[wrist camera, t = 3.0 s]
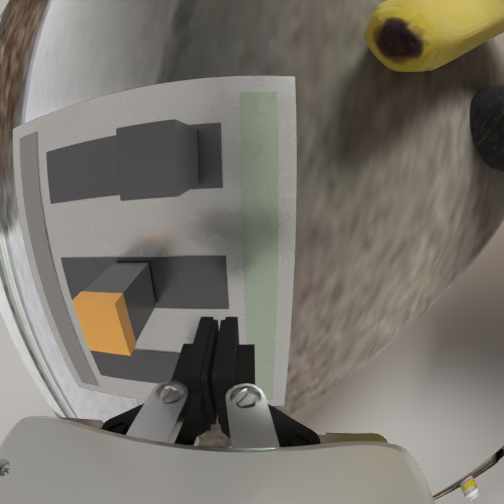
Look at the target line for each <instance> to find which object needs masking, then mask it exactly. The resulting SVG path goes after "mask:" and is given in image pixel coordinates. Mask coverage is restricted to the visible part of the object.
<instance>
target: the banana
mask: <svg viewBox="0 0 504 504" xmlns="http://www.w3.org/2000/svg"><path fill="white" fill-rule="evenodd" d="M503 32H504V0H387V1H385V2H383V3H382V4H380V5H379V6H378V7H377V8H376V10H375V12H374V13H373V15H372V17H371V19H370V21H369V24H368V26H367V29H366V32H365V39H366V42H367V45H368V46H369V48H370V50H371V51H372V52H373V54H374V55H375V56H376V57H377V58H378V60H379V61H381V62H382V63H383V64H384V65H385V66H386V67H388V68H389V69H391V70H394V71H399V72H420V71H430V70H434V69H437V68H439V67H441V66H443V65H445V64H447V63H449V62H450V61H452V60H454V59H456V58H458V57H460V56H461V55H463V54H465V53H467V52H469V51H470V50H472V49H474V48H476V47H477V46H479V45H481V44H482V43H484V42H486V41H488V40H490V39H491V38H493V37H495V36H497V35H499V34H501V33H503Z"/></svg>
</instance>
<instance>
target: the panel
mask: <svg viewBox="0 0 504 504" xmlns="http://www.w3.org/2000/svg"><path fill="white" fill-rule="evenodd" d="M172 119H176V120H178V121H180V122H183V123H185V124H187V125H189V126H192V127H194V128H196V129H197V139H198V169H199V184H198V185H196V186H195V187H193V188H192V189H190V190H188V191H187V192H185V193H183V194H182V195H180V196H179V197H165V198H151V199H139V200H127V201H121V200H120V190H119V178H118V164H117V142H116V128H120V127H126V126H131V125H137V124H143V123H150V122H157V121H164V120H172ZM13 161H14V176H15V187H16V196H17V204H18V211H19V217H20V223H21V229H22V234H23V239H24V243H25V248H26V252H27V256H28V260H29V264H30V268H31V272H32V275H33V279H34V282H35V285H36V288H37V292H38V295H39V298H40V301H41V304H42V306H43V309H44V312H45V315H46V317H47V320H48V323H49V325H50V328H51V330H52V333H53V335H54V337H55V340H56V342H57V344H58V346H59V349H60V351H61V353H62V355H63V357H64V359H65V361H66V364H67V366H68V368H69V370H70V371H71V373H72V375H73V377H74V379H75V381H76V383H77V385H78V387H81V388H85V389H89V390H94V391H98V392H103V393H108V394H113V395H118V396H124V397H129V398H136V399H142V400H147V398H148V396H149V394H150V393H151V391H152V389H153V388H154V387H155V386H156V385H157V384H159V383H161V382H164V381H170V380H172V376H173V373H174V370H175V367H176V364H177V361H178V358H179V355H180V352H181V349H182V346H183V344H184V343H187V344H193V342H194V338H195V335H196V331H197V328H198V325H199V321H200V318H201V317H213V318H214V320H218V326H219V328H220V323H221V320H225V318H226V317H238V329H239V344H255V385H256V386H258V387H260V388H261V389H262V390H263V391H264V393H265V395H266V399H267V403H268V404H270V405H271V406H283V405H284V402H285V392H286V382H287V371H288V359H289V347H290V333H291V319H292V303H293V285H294V264H295V237H296V191H297V135H296V91H295V77H292V76H229V77H213V78H201V79H191V80H183V81H175V82H168V83H162V84H156V85H150V86H145V87H140V88H135V89H130V90H125V91H121V92H117V93H113V94H109V95H105V96H101V97H98V98H94V99H91V100H87V101H84V102H81V103H77V104H74V105H71V106H68V107H65V108H63V109H60V110H57V111H54V112H52V113H49V114H46V115H44V116H41V117H39V118H36V119H34V120H32V121H29V122H27V123H25V124H23V125H20V126H18V127H16V128H14V129H13ZM113 263H148V264H149V270H150V276H151V282H152V287H153V292H154V298H155V303H156V307H155V309H154V310H153V312H152V314H151V316H150V318H149V319H148V321H147V323H146V325H145V327H144V329H143V330H142V332H141V334H140V336H139V338H138V340H137V342H136V343H137V344H136V346H135V348H134V350H133V352H132V354H131V356H128V355H120V354H112V353H105V352H98V351H92V350H90V349H89V347H88V344H87V342H86V339H85V336H84V334H83V331H82V328H81V326H80V323H79V320H78V317H77V314H76V311H75V308H74V305H73V302H72V300H73V299H74V298H75V297H76V296H77V295H78V294H79V293H80V292H81V291H84V290H85V289H86V288H87V287H88V286H89V285H90V284H91V283H93V282H94V281H95V280H96V279H97V278H98V277H99V276H100V275H101V274H102V273H103V272H104V271H105V270H106V269H107V268H109V267H110V266H111V265H112V264H113Z"/></svg>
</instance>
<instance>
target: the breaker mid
mask: <svg viewBox="0 0 504 504" xmlns="http://www.w3.org/2000/svg"><path fill="white" fill-rule="evenodd" d="M72 302H73V305H74V308H75V311H76V314H77V317H78V320H79V323H80V326H81V328H82V331H83V334H84V336H85V339H86V342H87V344H88V347H89V349H90V350H92V351H98V352H105V353H112V354H120V355H128V356H131V354H132V352H133V350H134V348H135V346H136V344H137V343H136V342H137V340H138V338H139V336H140V334H141V332H142V330H143V329H144V327H145V325H146V323H147V321H148V319H149V318H150V316H151V314H152V312H153V310H154V309H155V307H156V303H155V298H154V292H153V287H152V282H151V276H150V270H149V264H148V263H113V264H112V265H111V266H110V267H109V268H107V269H106V270H105V271H104V272H103V273H102V274H101V275H100V276H99V277H98V278H97V279H96V280H95V281H94V282H93V283H91V284H90V285H89V286H88V287H87V288H86V289H85V290H84V291H81V292H80V293H79V294H78V295H77V296H76V297H75V298H74V299H73V300H72Z"/></svg>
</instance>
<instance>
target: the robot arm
mask: <svg viewBox="0 0 504 504" xmlns="http://www.w3.org/2000/svg"><path fill="white" fill-rule="evenodd" d="M217 415H218V421H219V425H221V428H222V432H223V433H224V434H225V435H226V436H228V437H229V438H230V439H231V445H232V448H221V447H204V446H198V445H199V442H200V435H201V434H203V433H204V432H206V431H211V424H216V419H217ZM0 504H435V502H434V499H433V496H432V494H431V491H430V488H429V486H428V483H427V481H426V479H425V477H424V475H423V473H422V470H421V468H420V467H419V465H418V463H417V462H416V460H415V459H414V457H413V456H412V455H411V454H410V453H409V452H408V451H407V450H406V449H404V448H403V447H401V446H398V445H395V444H390V443H387V440H386V439H385V438H384V437H383V436H381V435H379V434H373V433H366V434H365V433H364V434H363V433H362V434H351V433H350V434H349V433H326V434H325V435H317V434H316V433H315V432H314V431H312V430H311V429H309V428H307V427H305V426H304V425H302V424H300V423H299V422H297V421H295V420H294V419H292V418H290V417H289V416H287V415H285V414H284V413H282V412H281V411H279V410H277V409H276V408H274V407H273V406H271V405H270V404H268V403H267V399H266V395H265V393H264V391H263V390H262V389H261V388H260V387H258V386H256V385H255V344H239V329H238V317H226V318H225V320H221V323H220V328H219V326H218V320H214V318H213V317H201V318H200V321H199V325H198V328H197V331H196V335H195V338H194V342H193V344H187V343H184V344H183V346H182V349H181V352H180V355H179V358H178V361H177V364H176V367H175V370H174V373H173V376H172V380H170V381H164V382H161V383H159V384H157V385H156V386H155V387H154V388H153V389H152V391H151V393H150V394H149V396H148V398H147V400H146V401H145V403H144V404H142V405H140V406H137V407H135V408H133V409H131V410H129V411H127V412H125V413H122V414H120V415H118V416H116V417H113V418H111V419H109V420H108V421H106V422H105V423H103V422H102V421H101V420H89V419H76V418H55V417H47V416H31V417H26V418H23V419H21V420H20V421H19V422H18V423H17V424H16V425H15V426H14V427H13V428H12V429H11V431H10V432H9V433H8V435H7V436H6V438H5V439H4V441H3V442H2V444H1V446H0Z"/></svg>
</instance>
